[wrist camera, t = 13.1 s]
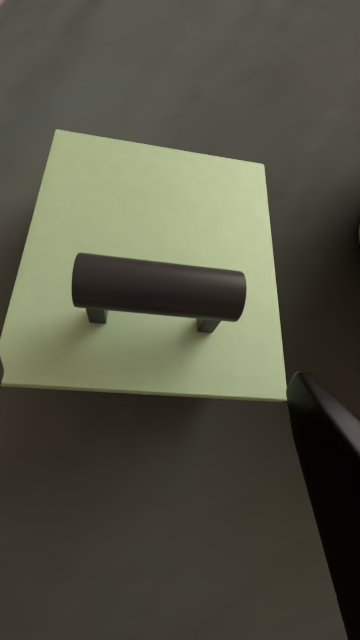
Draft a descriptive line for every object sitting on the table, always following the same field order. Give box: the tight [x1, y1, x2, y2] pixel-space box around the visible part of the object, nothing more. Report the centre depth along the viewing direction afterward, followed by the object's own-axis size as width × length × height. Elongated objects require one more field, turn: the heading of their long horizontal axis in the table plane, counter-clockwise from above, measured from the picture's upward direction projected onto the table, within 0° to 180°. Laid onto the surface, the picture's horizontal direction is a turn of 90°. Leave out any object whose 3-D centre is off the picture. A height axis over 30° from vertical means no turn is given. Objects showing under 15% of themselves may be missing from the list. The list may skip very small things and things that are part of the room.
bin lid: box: [0, 129, 287, 402], centre depth 13 cm, size 13×12×4 cm
